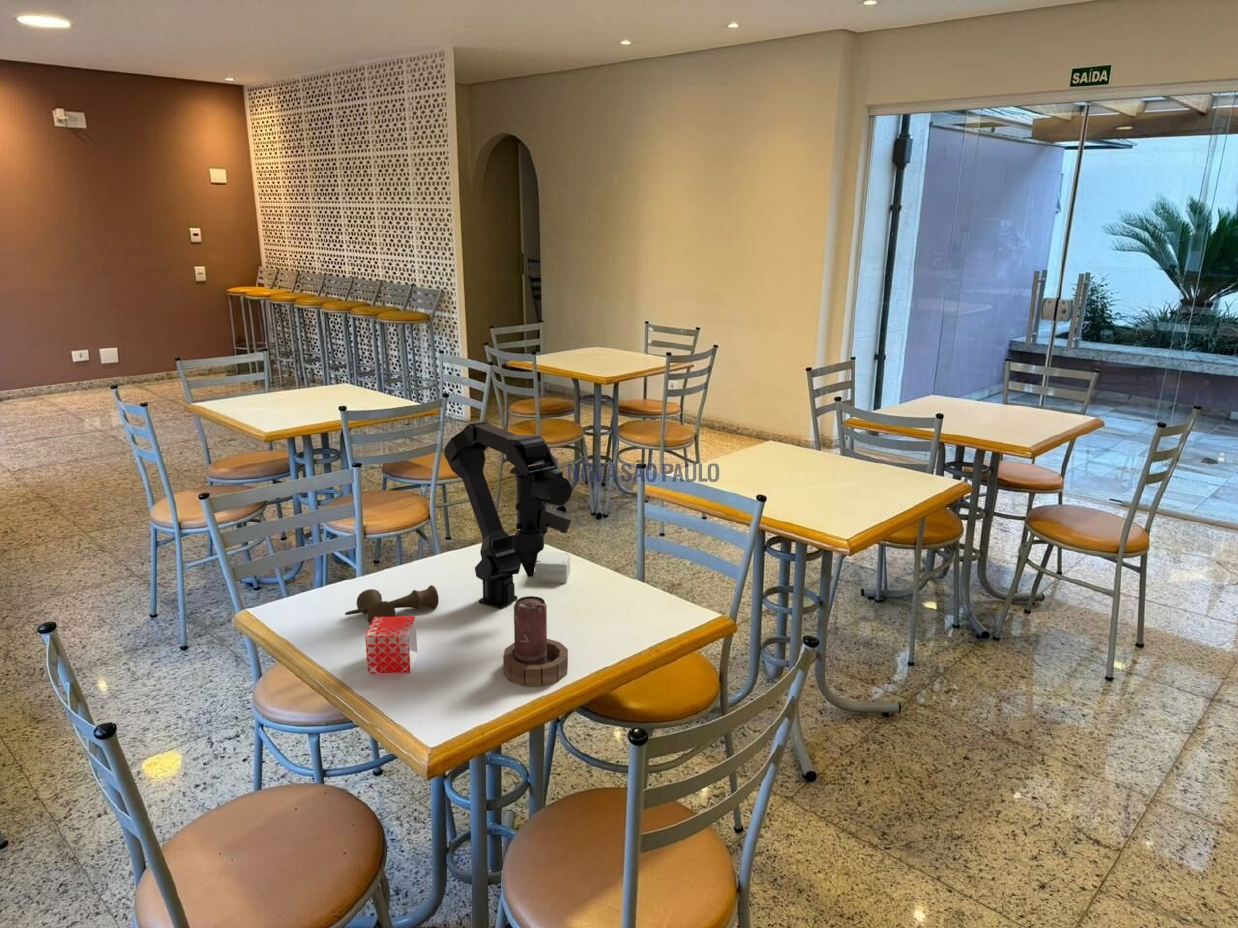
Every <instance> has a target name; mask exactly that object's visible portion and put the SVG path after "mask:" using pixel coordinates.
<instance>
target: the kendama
mask: <svg viewBox="0 0 1238 928" xmlns="http://www.w3.org/2000/svg"><path fill="white" fill-rule="evenodd" d="M439 602H440V601H439V592H438V590H437V587H435V586H434V585H432V584H431V585H429V586H428V587H427V588H426V589H424V590H423V589H422V590H416V589H414V590H412V591H411V593H410V594H409V593H408V594H407V595H405V596H403V597H399V598H397V599H393V600H390V601H387V600H383V597H382V594H381V593H380V591H379V590H377V589H373V588H371V589H370V588H369V589H365V590H363V591H362V592H360V593H359V595H358V596H357V598H356V607H357V609H353V610H349V611H346V612H345V613H344V615H347V616H349V615H357V614H365V615H366V619H367V623H368V625H369V626H370V625H371V623H372V621H373V619H374V617H396V609H404V608H408V609H409V608H411V609H415V611H416V610H417V611H418V610H420V609H421V608H423V607H431V608H432V609H436V608H438V605H439Z"/></svg>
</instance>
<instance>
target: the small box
mask: <svg viewBox="0 0 1238 928" xmlns="http://www.w3.org/2000/svg"><path fill="white" fill-rule="evenodd" d="M570 574H571V553H570V552H555V551H554V552H553V551H552V552H550V551H540V552H539V553H538V556H537V562H536V563H535V569H534V576H535V577H534V580H535V581H534V582H536V583H547V584H548V583H550V584H553V583H554V584H568V579H569V576H570Z"/></svg>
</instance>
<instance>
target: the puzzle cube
mask: <svg viewBox="0 0 1238 928" xmlns="http://www.w3.org/2000/svg"><path fill="white" fill-rule="evenodd" d="M417 637H418V636H417V619H416V616H410V615H409V616H407V615H406V616H395V617H374V619H373V621H372V623H371V625H369V627H368V630H367V631H366V634H365V636H364V638H365V639H364V640H365V651H366V665H367V667H366V669H367V675H373V674H376V675H377V674H411V673H412V669H413V667H414V664H415V660H416V659H417V658H416V657H417V656H418V640H417Z"/></svg>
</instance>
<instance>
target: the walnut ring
mask: <svg viewBox="0 0 1238 928" xmlns="http://www.w3.org/2000/svg"><path fill="white" fill-rule="evenodd" d="M502 657H503V658H502V659H503V662H502V667H503V671H502V672H503V675H504V676H505V677H506V679H507V680H508V681H510V682H512V683H514V684H516V685H520V686H523V687H524V686H525V687H545V686H549V685H552V684H555V683H558V682H559V681H561V680H562V679H563V678H565V677H566V676H567V674H568V670H569V669H568V668H569V661H568V660H569V650H568V648H567V647H566V646H565V645H564V644H563V643H562V642H560V641H558V640H554V639H550V638H547V660H549V661H550V662H547V663H546V664H542V665H526V664H523V663H520V662H517V661H516V660H515V642H513V643H512V644H510V645H508V646H507V647H506V648H504V653H503V656H502Z"/></svg>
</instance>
